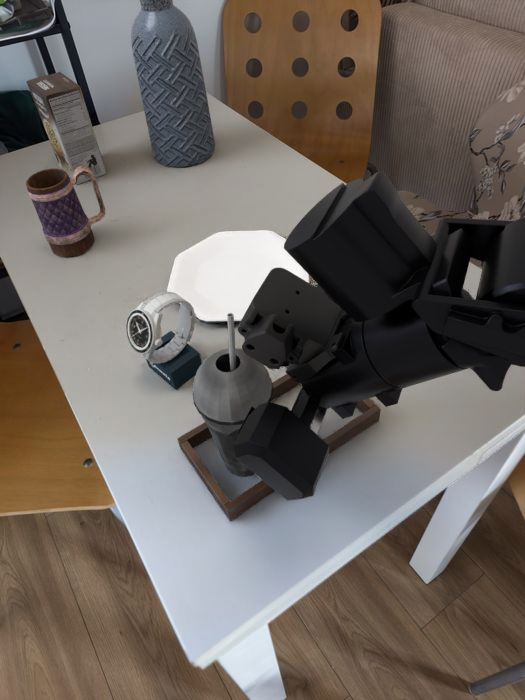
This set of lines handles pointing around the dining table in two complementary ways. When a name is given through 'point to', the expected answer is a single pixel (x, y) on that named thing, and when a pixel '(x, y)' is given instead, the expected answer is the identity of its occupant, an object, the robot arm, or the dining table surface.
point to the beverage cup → (230, 395)
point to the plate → (229, 272)
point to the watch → (165, 339)
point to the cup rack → (261, 488)
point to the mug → (64, 210)
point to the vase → (171, 85)
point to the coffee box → (67, 124)
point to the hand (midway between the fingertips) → (252, 399)
